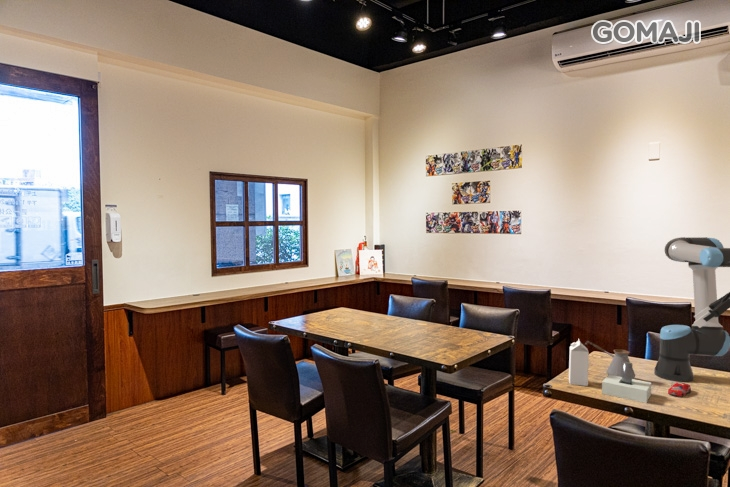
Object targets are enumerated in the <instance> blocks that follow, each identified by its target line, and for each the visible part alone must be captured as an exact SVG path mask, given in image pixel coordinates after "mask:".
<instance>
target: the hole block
mask: <svg viewBox="0 0 730 487" xmlns="http://www.w3.org/2000/svg"><path fill="white" fill-rule="evenodd" d="M601 394H602V395H606V396H612V397H615V398H620V399H626V400H630V401H634V402H638V403H639V402H640V403H644V404H647V403H648V401H649V399H650V397H651V395H652V382H650V381H645V380H644V381H643V380H639V379H635V378H634V379H632V385H629V384H624V383H622V377H619V376H614V375H608V374H607V376H606V377H605V378H604V379H603V380H602V381H601Z"/></svg>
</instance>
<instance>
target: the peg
mask: <svg viewBox="0 0 730 487" xmlns="http://www.w3.org/2000/svg"><path fill="white" fill-rule="evenodd" d="M632 368H633V362H631V361H630V362H623V363H622V383H624V384H629V385H632Z"/></svg>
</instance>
